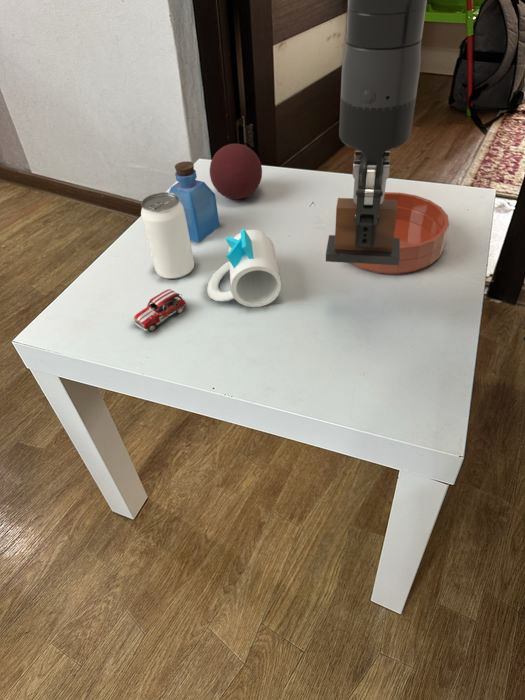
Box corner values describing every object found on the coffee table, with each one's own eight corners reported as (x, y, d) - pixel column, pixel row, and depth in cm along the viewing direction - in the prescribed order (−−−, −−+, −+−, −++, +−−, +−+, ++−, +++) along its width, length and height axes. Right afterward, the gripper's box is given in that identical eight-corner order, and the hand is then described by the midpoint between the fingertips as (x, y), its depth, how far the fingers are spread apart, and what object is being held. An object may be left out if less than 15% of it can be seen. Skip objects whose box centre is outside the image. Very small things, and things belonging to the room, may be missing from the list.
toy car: (133, 325, 72) (127, 308, 69) (176, 298, 75) (172, 281, 73) (148, 336, 70) (142, 319, 67) (191, 308, 74) (188, 291, 71)
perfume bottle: (198, 242, 86) (186, 176, 78) (171, 234, 89) (157, 169, 81) (219, 226, 90) (210, 161, 82) (193, 218, 93) (181, 154, 84)
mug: (253, 203, 74) (260, 247, 66) (280, 249, 80) (289, 294, 72) (187, 238, 77) (185, 284, 69) (217, 279, 83) (219, 326, 75)
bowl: (439, 220, 87) (444, 193, 83) (446, 278, 75) (452, 250, 71) (340, 216, 90) (341, 190, 86) (331, 272, 78) (332, 245, 74)
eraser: (398, 245, 64) (405, 195, 59) (398, 265, 61) (406, 214, 56) (328, 242, 66) (330, 193, 61) (325, 261, 63) (327, 211, 58)
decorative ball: (265, 184, 101) (262, 134, 94) (261, 208, 94) (257, 156, 87) (217, 185, 102) (210, 135, 95) (209, 209, 95) (201, 158, 88)
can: (203, 266, 81) (190, 198, 73) (172, 285, 78) (156, 216, 70) (177, 253, 85) (163, 186, 76) (147, 270, 81) (129, 203, 73)
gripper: (419, 117, 44) (395, 274, 57) (415, 69, 54) (395, 213, 66) (335, 116, 46) (329, 271, 58) (345, 70, 55) (338, 211, 67)
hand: (364, 239), depth 62 cm, fingers closed on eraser, 2 cm apart
